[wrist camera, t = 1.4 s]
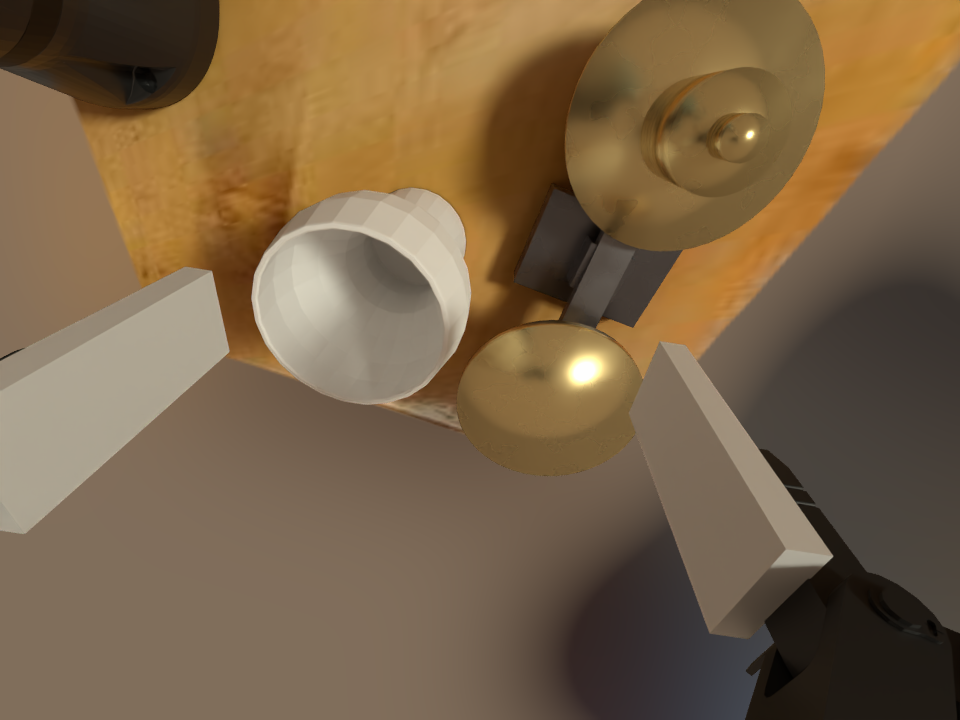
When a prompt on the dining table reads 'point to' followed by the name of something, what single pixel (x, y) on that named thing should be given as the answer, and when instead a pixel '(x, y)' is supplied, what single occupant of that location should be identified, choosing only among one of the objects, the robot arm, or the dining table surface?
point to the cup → (365, 293)
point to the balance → (640, 211)
